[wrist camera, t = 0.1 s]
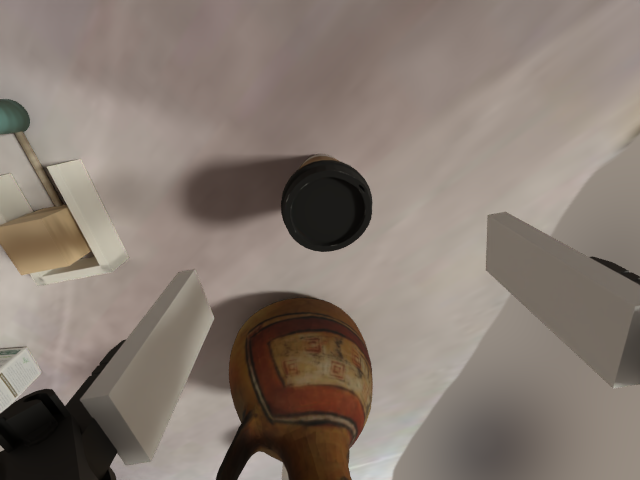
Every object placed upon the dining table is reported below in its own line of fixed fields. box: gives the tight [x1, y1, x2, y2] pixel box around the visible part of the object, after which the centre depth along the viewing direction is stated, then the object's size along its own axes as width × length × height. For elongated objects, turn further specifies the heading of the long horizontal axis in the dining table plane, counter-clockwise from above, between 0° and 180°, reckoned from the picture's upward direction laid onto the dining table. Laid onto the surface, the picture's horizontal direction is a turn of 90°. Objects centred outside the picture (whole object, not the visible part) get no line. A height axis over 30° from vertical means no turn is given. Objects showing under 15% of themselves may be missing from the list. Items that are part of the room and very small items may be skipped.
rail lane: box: [0, 159, 129, 286], centre depth 40 cm, size 14×10×4 cm
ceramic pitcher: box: [216, 298, 372, 480], centre depth 37 cm, size 20×20×30 cm
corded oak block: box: [0, 99, 92, 275], centre depth 35 cm, size 19×6×10 cm, turn 11°
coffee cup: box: [281, 154, 372, 252], centre depth 34 cm, size 8×8×15 cm
